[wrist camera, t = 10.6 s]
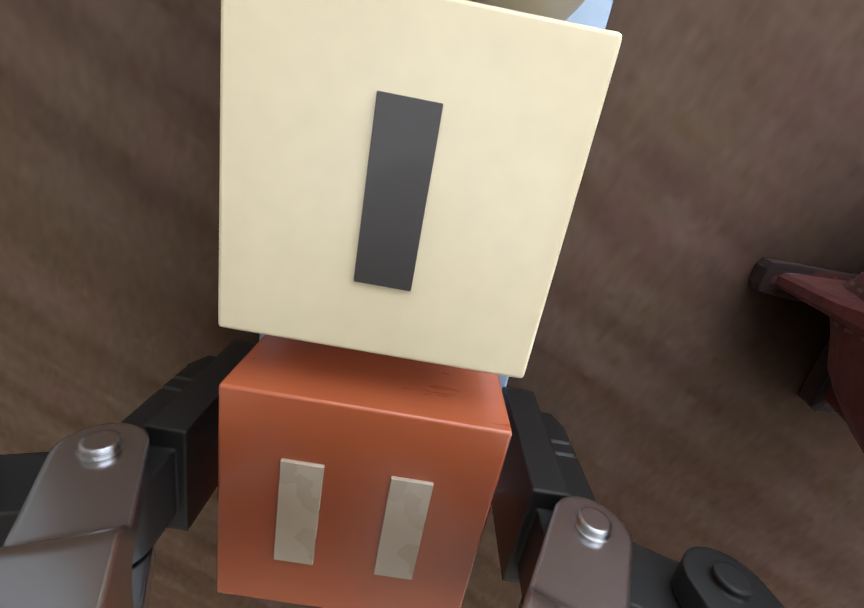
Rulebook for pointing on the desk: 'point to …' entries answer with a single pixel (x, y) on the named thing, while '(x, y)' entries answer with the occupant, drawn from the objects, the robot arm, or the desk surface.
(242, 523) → the orange cube with stripes
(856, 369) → the mate gourd
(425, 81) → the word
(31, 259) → the desk surface
